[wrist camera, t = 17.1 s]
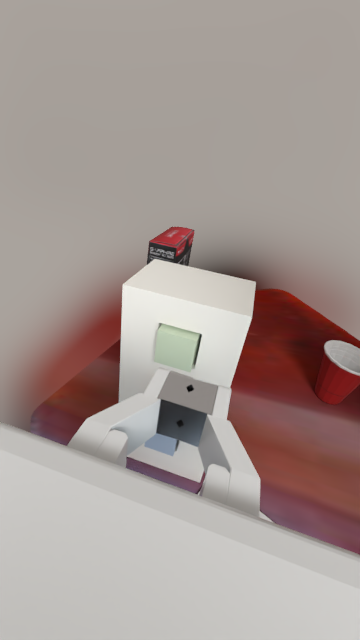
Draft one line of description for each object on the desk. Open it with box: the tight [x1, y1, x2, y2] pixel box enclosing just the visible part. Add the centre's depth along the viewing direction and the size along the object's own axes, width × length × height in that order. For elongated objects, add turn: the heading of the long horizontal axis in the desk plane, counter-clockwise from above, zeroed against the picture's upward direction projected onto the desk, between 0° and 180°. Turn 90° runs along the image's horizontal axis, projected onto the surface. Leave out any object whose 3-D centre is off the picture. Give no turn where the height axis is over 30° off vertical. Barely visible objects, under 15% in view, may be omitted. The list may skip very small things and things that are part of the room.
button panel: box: [119, 259, 256, 483], centre depth 41 cm, size 10×14×30 cm
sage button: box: [154, 323, 202, 372], centre depth 33 cm, size 5×4×4 cm
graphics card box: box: [147, 227, 194, 266], centre depth 70 cm, size 17×7×27 cm, turn 166°
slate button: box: [144, 433, 178, 456], centre depth 41 cm, size 5×4×4 cm
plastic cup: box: [315, 340, 360, 405], centre depth 61 cm, size 11×11×12 cm
